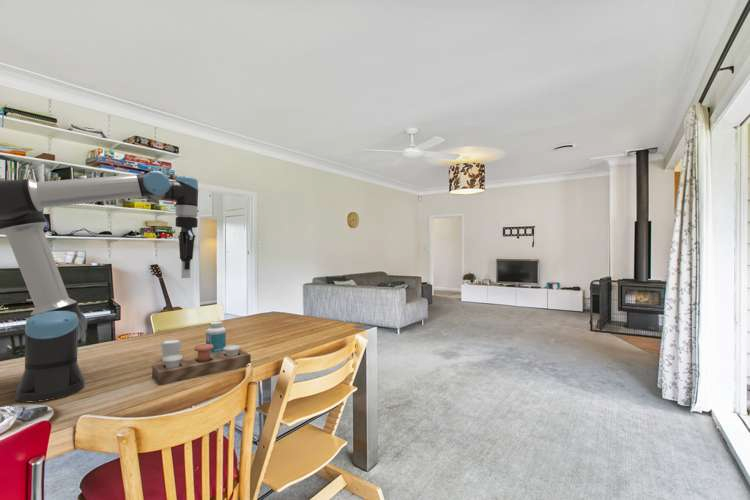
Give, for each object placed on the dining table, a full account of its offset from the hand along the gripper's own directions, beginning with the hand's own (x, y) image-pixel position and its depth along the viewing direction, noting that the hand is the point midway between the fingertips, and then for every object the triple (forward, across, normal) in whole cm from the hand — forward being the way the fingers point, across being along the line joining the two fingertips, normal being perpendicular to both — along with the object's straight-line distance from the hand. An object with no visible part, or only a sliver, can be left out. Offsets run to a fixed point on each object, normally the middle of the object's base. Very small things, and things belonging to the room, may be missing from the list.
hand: (185, 277), depth 136 cm
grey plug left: (+32, -16, +8) cm, 36 cm away
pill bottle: (+33, +1, -12) cm, 35 cm away
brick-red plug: (+30, -16, -2) cm, 34 cm away
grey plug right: (+32, -16, -12) cm, 37 cm away
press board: (+32, -16, -2) cm, 36 cm away
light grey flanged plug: (+33, +7, +3) cm, 33 cm away
